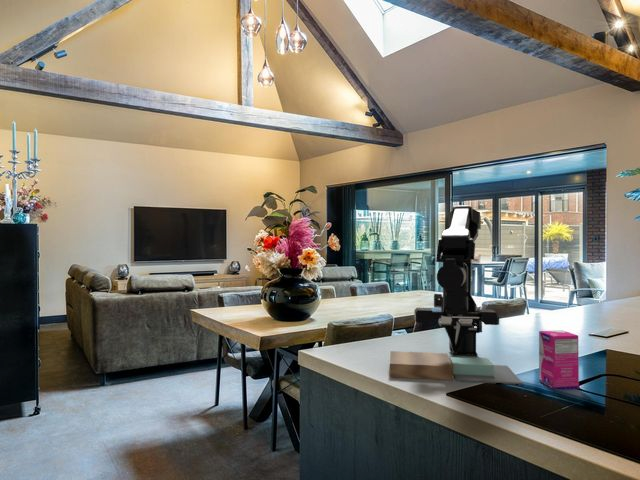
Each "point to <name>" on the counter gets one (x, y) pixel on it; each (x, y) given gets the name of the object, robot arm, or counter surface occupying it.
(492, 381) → the mat
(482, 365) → the mint green block
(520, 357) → the counter surface
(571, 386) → the supplement box
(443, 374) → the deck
